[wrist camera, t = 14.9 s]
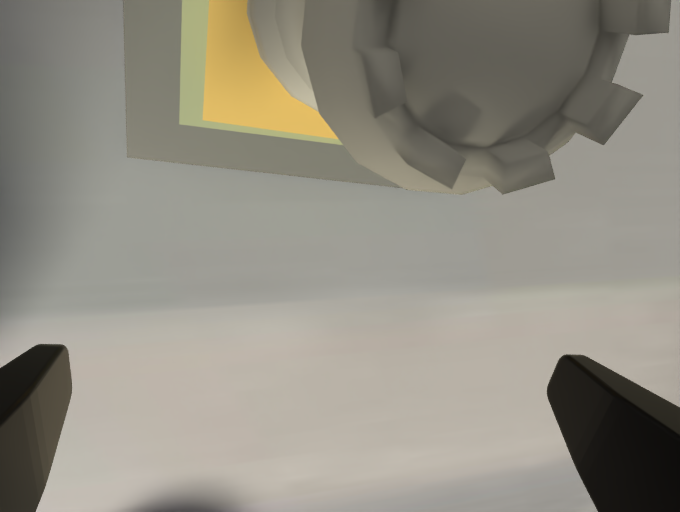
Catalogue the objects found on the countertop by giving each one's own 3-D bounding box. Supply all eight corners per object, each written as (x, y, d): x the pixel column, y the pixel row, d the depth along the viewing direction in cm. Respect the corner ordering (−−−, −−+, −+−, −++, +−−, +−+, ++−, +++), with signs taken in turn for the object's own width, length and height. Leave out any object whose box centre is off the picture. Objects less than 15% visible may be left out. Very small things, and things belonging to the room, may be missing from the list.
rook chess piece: (456, -126, 10) (910, -375, 3) (445, 102, 12) (697, 259, 5) (230, -118, 10) (165, -388, 3) (260, 118, 12) (267, 313, 5)
